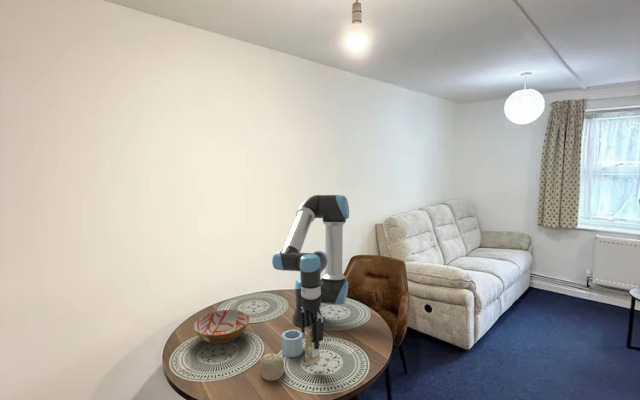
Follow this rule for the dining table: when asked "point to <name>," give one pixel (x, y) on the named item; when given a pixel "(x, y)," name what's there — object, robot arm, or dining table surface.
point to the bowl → (221, 326)
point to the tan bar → (309, 346)
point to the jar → (292, 343)
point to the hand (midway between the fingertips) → (312, 353)
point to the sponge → (271, 367)
